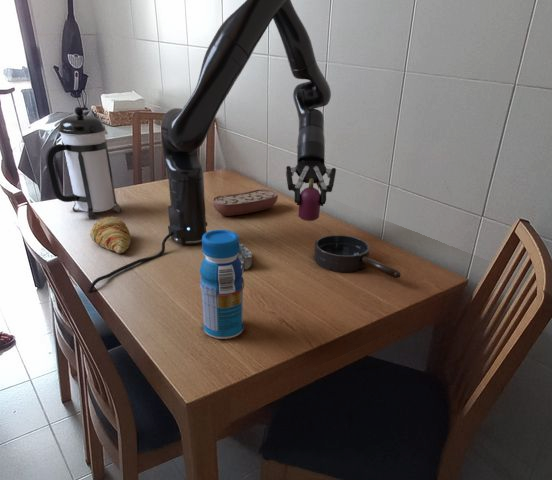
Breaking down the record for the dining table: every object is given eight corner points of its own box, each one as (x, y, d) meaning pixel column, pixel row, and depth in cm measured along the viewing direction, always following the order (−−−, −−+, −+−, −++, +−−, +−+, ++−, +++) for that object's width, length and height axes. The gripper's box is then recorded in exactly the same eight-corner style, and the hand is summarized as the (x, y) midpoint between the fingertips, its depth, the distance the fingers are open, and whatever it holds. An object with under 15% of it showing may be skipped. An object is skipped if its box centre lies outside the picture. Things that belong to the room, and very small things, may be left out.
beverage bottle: (195, 335, 96) (188, 240, 84) (214, 315, 102) (210, 224, 91) (233, 344, 93) (231, 248, 82) (251, 323, 100) (251, 231, 88)
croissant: (135, 266, 128) (146, 238, 126) (99, 256, 121) (109, 227, 119) (112, 237, 142) (121, 212, 140) (78, 227, 136) (87, 201, 133)
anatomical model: (267, 202, 165) (267, 187, 162) (284, 210, 159) (284, 195, 156) (208, 213, 154) (207, 197, 151) (223, 222, 148) (223, 206, 145)
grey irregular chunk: (253, 269, 121) (253, 254, 119) (223, 272, 119) (223, 256, 117) (245, 252, 129) (245, 238, 127) (217, 254, 128) (217, 240, 125)
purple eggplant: (308, 223, 130) (311, 182, 124) (293, 217, 134) (296, 177, 127) (323, 219, 133) (327, 179, 127) (308, 213, 137) (311, 174, 131)
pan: (341, 277, 119) (343, 261, 116) (302, 258, 128) (303, 242, 125) (378, 263, 127) (381, 247, 124) (339, 246, 135) (341, 231, 133)
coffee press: (79, 202, 158) (58, 101, 141) (127, 204, 158) (112, 104, 141) (58, 221, 144) (32, 111, 127) (110, 223, 144) (92, 113, 127)
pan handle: (401, 278, 115) (402, 271, 114) (396, 280, 114) (397, 273, 113) (364, 261, 122) (365, 254, 121) (359, 263, 121) (360, 256, 120)
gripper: (285, 138, 128) (284, 196, 126) (339, 140, 129) (338, 198, 126) (284, 154, 136) (283, 209, 133) (334, 156, 136) (334, 211, 133)
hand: (310, 204), depth 129 cm, fingers closed on purple eggplant, 6 cm apart
